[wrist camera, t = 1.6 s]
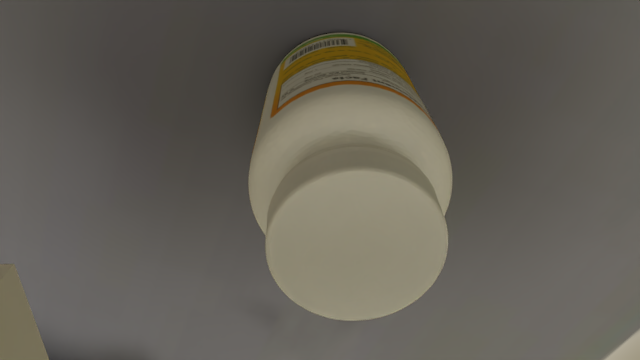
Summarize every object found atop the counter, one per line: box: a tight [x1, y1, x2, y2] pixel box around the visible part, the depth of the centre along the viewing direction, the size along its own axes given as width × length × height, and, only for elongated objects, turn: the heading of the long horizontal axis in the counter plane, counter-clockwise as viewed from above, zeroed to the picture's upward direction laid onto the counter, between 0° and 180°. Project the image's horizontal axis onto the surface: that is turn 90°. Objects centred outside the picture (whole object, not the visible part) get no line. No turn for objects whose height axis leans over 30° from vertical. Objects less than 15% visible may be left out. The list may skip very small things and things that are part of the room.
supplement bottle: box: [248, 33, 452, 321], centre depth 16 cm, size 5×5×10 cm
